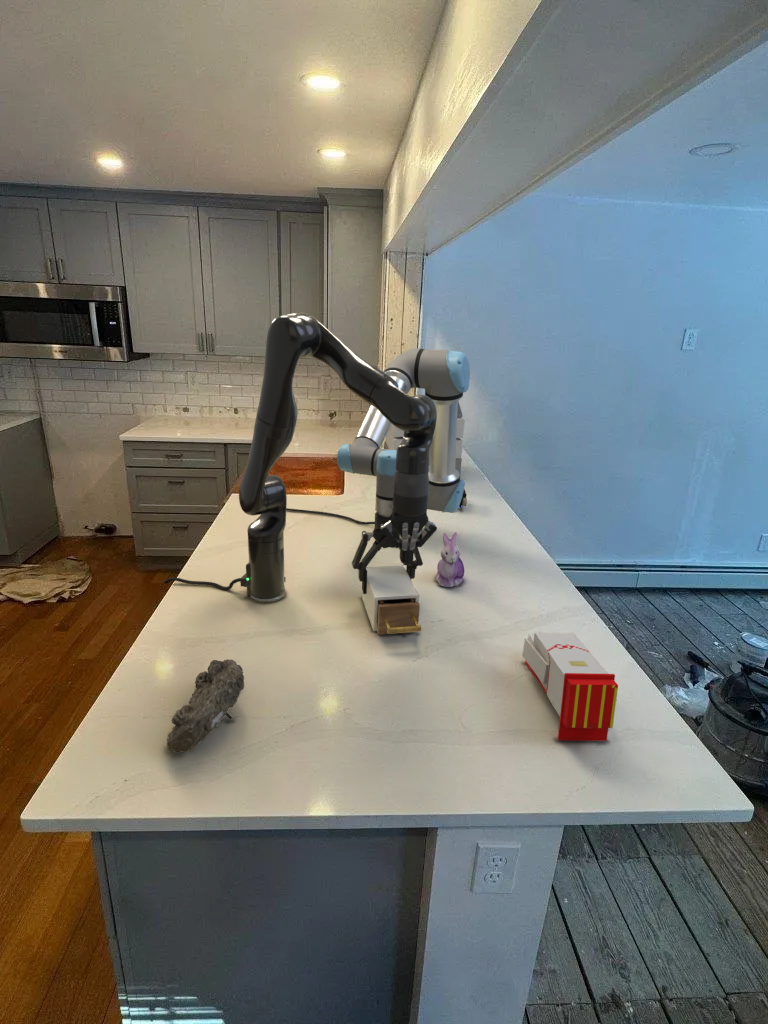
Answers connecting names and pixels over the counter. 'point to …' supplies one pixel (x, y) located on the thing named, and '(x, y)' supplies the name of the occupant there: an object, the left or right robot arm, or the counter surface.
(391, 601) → the drawer
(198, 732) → the fossil
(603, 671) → the toy
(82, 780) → the counter surface
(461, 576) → the figurine
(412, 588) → the cabinet
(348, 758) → the counter surface
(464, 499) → the figurine character
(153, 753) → the counter surface
